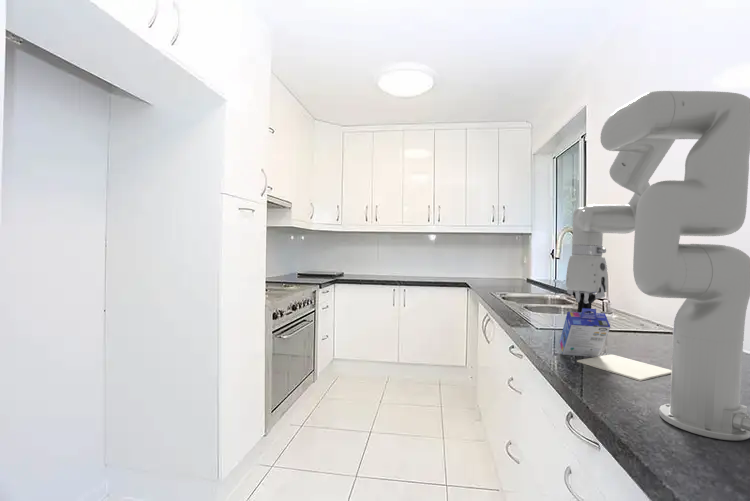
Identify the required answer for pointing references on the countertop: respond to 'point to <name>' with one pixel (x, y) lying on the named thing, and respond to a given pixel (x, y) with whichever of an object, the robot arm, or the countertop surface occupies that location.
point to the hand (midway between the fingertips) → (584, 316)
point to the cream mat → (626, 367)
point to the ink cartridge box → (584, 333)
